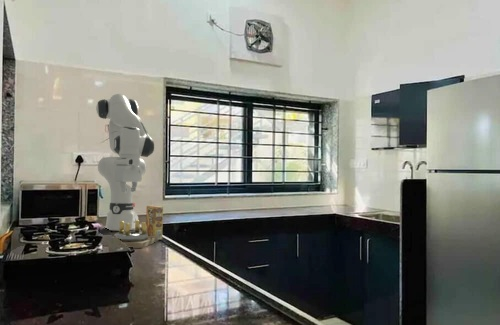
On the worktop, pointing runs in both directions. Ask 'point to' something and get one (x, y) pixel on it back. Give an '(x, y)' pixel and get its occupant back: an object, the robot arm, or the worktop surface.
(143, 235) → the cam disc
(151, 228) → the candy box
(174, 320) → the worktop surface
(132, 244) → the stand plate
